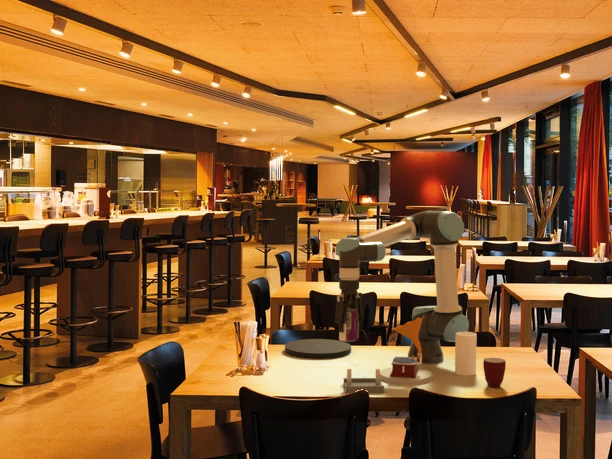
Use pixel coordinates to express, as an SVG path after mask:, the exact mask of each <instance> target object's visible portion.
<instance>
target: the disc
mask: <svg viewBox="0 0 612 459" xmlns="http://www.w3.org/2000/svg"><path fill="white" fill-rule="evenodd" d="M284 352H285V354H286V355H288V356H291V357H293V358H298V359H299V358H300V359H307V360H308V359H309V360H331V358H332V359H338V358H343V357H347V356H349V355H350V354H351V353H352V345H351V344H350V343H349V342H348V343H347V342H345V341H340V340H336V339H327V338H326V339H325V338H307V339H297V340H292V341H289V342H286V343H285V345H284Z"/></svg>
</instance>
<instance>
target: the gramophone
mask: <svg viewBox="0 0 612 459" xmlns="http://www.w3.org/2000/svg"><path fill="white" fill-rule="evenodd" d="M423 317H424V316H423ZM423 317H422V318H421V319H420V318H417V319H416V320H415V321H413V322H412V321H407V322H406V323H405V324H403V325H398V326H396V327H393V328H391V330H392V331H394V332H396V333H398V334H400V335H401V336H403V337H406V338H407V339H409V340H411V343H412V342H413V343H414V344H415V346H416V347H417V349H418V356H417V357H414V356H413V357H408V356H394V358H393V359H392V362H391V364H390V365H392V367H386V368H384V369H382V370H381V369H380V378H381V381H383V382H385V383H389V382H390V384H395V385H408V386H409V385H421V384H427V383H430V382H432V380H433V373H432V372H431V371H430V370H427V369H424V368H420V367H418V366H420V365H421V364H423V363H422V354H421V345H420V342H419V339H418V334H419V330H420V327H421V322H422V319H423ZM420 355H421V356H420ZM419 357H420V358H419ZM417 358H419V360H420V362H416V361H417ZM417 365H418V366H417Z"/></svg>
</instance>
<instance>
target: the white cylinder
mask: <svg viewBox="0 0 612 459" xmlns="http://www.w3.org/2000/svg"><path fill="white" fill-rule="evenodd" d="M477 338H478V336H477V333H476V332H472V331H468V332H457V333H456V340H455V342H454V343H455V349H454V350H455V351H454V353H455V354H454V357H455V358H454V374H456V375H459V376H464V377H465V376H467V377H468V376H474V375H475V376H476V374H477Z"/></svg>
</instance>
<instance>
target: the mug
mask: <svg viewBox="0 0 612 459" xmlns="http://www.w3.org/2000/svg"><path fill="white" fill-rule="evenodd" d="M482 364H483V365H482V366H483V372H484V373H483V374H484V378H485V379H484V380H485V382H486V384H487V386H488V387H490V388H492V389H493V388H494V389H496V388H500V387H501V385H502V384H503V381H504V378H505V373H506V364H507V363H506V359H504V358H500V357H486V358H484V359H483V363H482Z"/></svg>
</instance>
